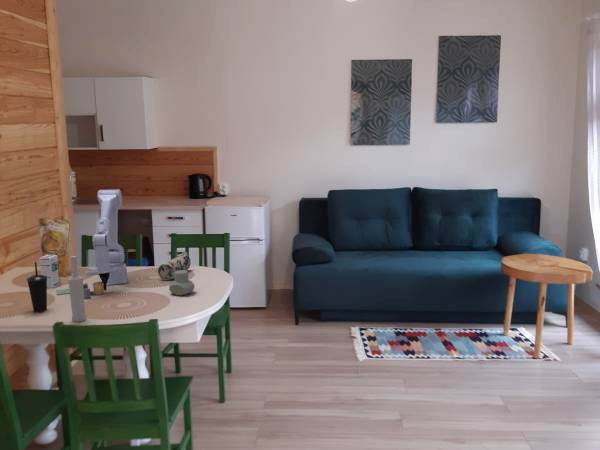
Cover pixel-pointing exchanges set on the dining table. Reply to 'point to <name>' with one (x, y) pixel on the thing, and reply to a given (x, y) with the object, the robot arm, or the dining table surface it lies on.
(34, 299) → the drinking cup
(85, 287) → the channel
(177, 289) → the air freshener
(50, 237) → the pancake mix bag
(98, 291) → the plug
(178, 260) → the pencil case
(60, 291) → the mat
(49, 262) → the syrup box
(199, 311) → the dining table surface
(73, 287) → the bottle
